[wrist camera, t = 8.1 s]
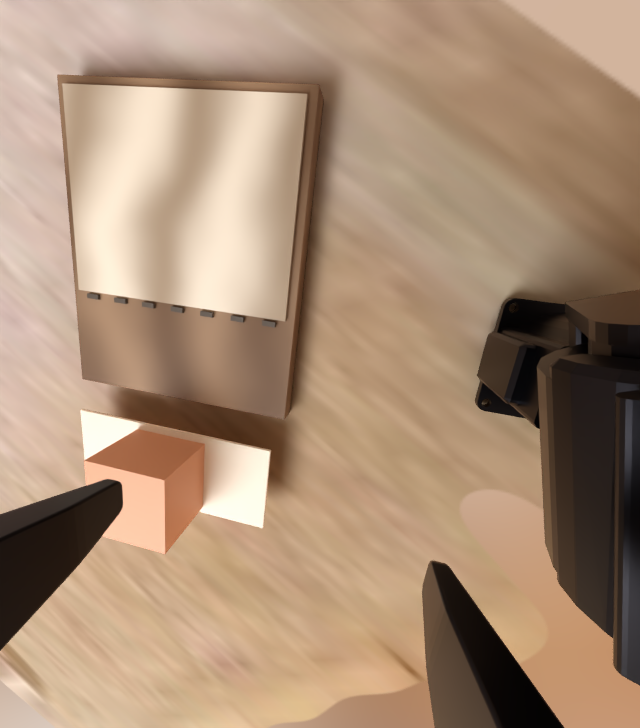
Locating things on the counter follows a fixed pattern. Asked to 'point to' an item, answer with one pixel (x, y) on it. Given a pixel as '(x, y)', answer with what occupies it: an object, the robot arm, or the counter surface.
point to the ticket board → (190, 233)
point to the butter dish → (172, 477)
